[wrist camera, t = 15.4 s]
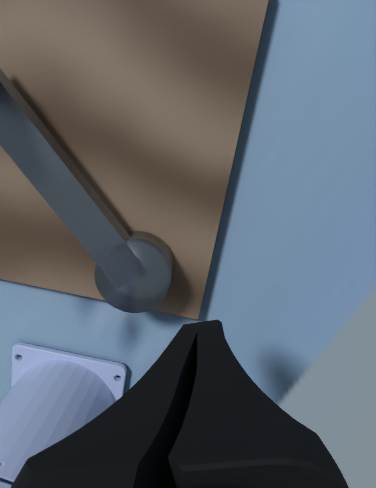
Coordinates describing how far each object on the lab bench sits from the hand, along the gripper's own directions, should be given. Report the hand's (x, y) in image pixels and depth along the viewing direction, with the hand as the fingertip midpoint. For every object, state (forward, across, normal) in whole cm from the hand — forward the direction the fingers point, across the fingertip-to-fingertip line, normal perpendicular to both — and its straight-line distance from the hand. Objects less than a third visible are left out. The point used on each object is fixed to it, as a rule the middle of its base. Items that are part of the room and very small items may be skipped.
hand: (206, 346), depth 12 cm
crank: (+8, +7, -6) cm, 12 cm away
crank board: (+9, +6, -8) cm, 13 cm away
